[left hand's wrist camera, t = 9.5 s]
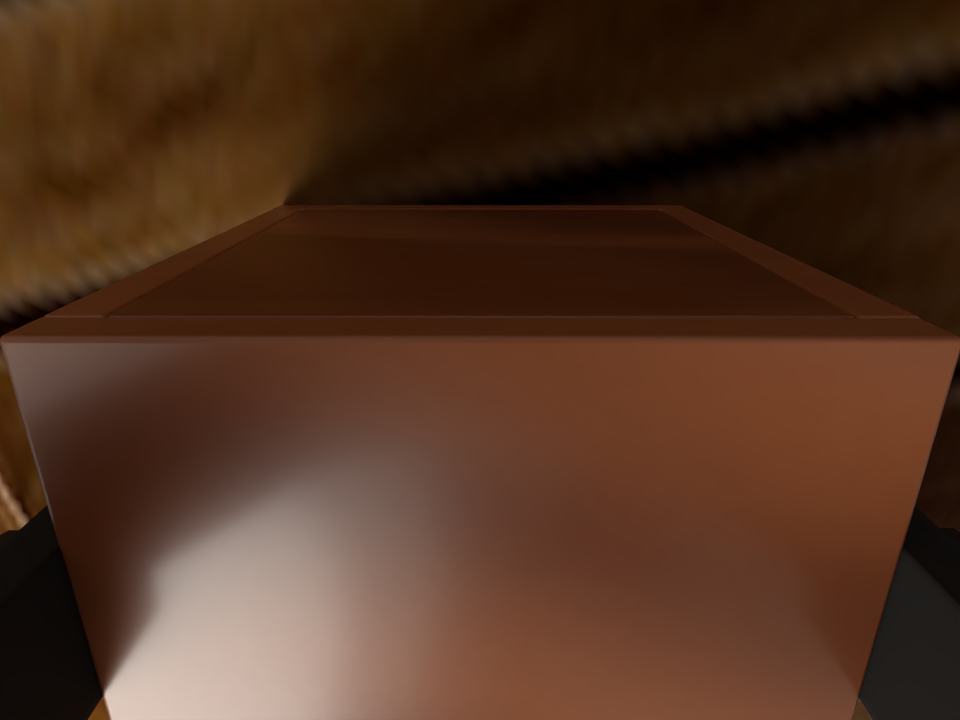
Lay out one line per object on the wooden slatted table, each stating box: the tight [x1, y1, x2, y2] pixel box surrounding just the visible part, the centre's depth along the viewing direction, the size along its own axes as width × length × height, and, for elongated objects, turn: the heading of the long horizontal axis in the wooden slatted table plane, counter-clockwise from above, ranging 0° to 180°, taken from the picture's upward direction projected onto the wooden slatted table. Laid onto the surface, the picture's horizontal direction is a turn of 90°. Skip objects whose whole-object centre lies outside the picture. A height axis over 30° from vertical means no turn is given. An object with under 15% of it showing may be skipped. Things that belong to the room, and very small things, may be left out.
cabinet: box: [0, 205, 960, 720], centre depth 16 cm, size 19×11×11 cm, turn 0°
